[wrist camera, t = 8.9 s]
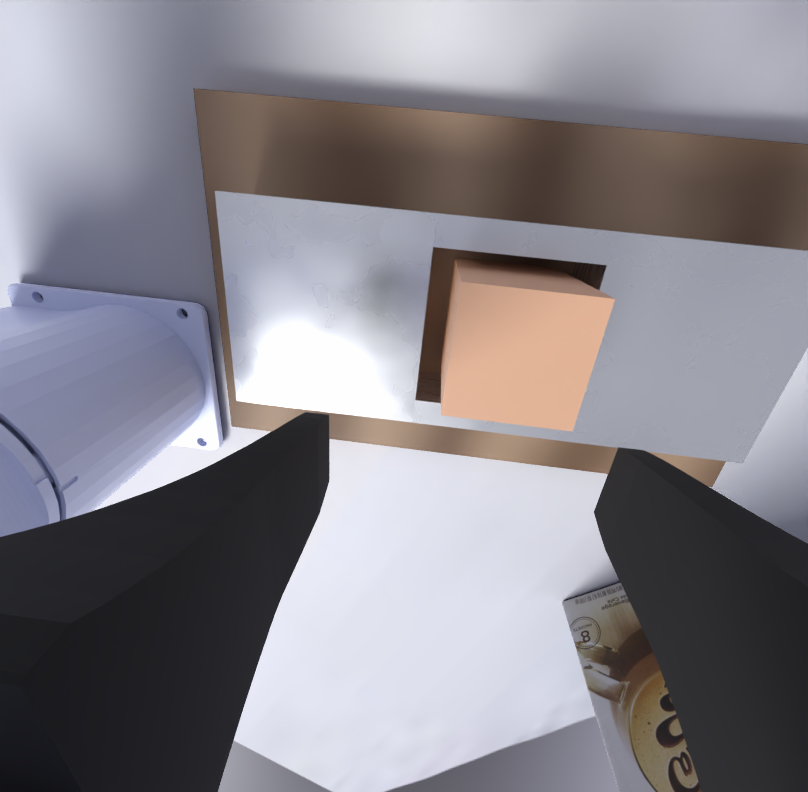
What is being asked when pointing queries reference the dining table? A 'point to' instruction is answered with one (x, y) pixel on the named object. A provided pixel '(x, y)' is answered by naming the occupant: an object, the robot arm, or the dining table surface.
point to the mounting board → (492, 212)
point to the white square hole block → (590, 248)
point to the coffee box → (629, 695)
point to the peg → (519, 343)
